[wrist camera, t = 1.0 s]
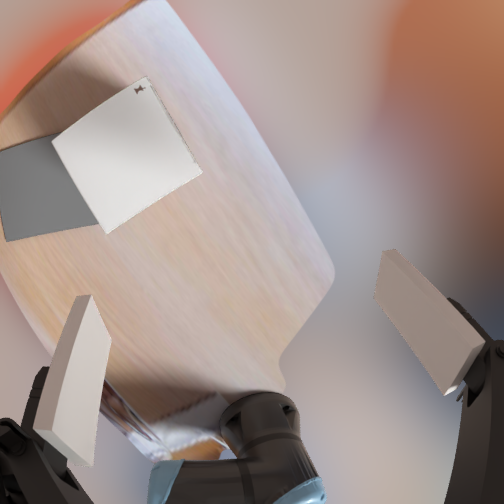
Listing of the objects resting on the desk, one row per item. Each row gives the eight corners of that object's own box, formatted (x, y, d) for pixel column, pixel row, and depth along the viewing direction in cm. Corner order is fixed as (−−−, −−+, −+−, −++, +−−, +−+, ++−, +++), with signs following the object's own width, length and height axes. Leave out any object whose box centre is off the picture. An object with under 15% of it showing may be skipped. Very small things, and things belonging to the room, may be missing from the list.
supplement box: (99, 146, 34) (46, 138, 18) (160, 107, 34) (145, 69, 19) (136, 207, 37) (105, 239, 22) (196, 169, 38) (206, 173, 22)
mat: (107, 221, 37) (106, 222, 36) (8, 241, 34) (6, 242, 33) (95, 124, 33) (94, 124, 32) (-5, 154, 30) (-7, 154, 29)
